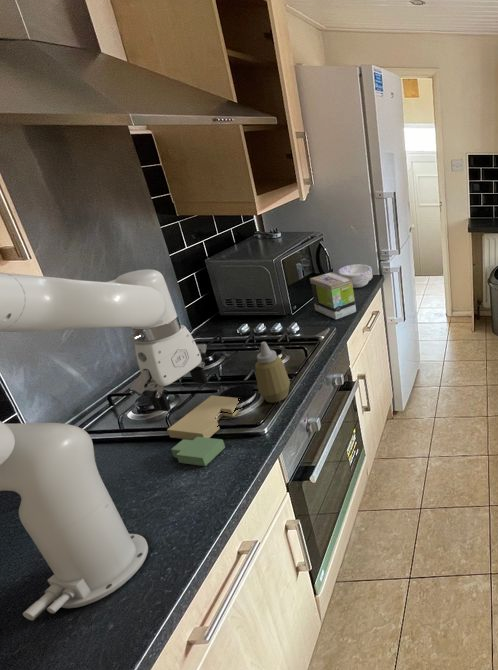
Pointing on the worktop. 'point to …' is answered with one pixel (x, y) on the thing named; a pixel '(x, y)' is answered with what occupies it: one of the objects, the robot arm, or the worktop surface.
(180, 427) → the beige pad
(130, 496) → the worktop surface
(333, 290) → the tea box
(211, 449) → the green pad
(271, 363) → the squeeze bottle
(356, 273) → the paper bowls
